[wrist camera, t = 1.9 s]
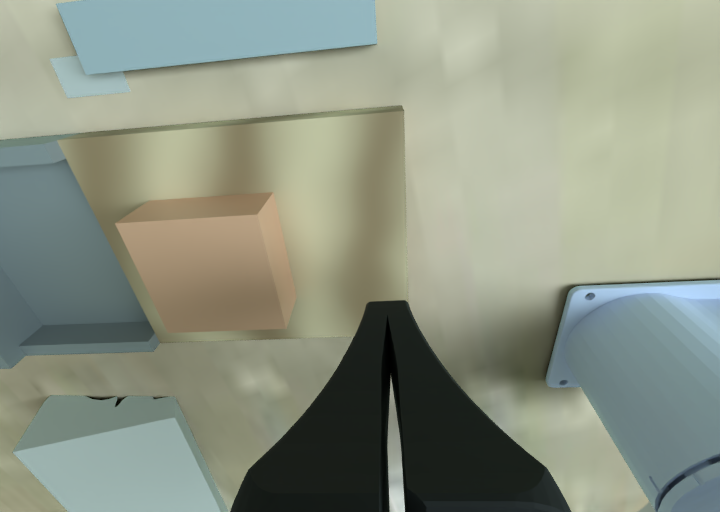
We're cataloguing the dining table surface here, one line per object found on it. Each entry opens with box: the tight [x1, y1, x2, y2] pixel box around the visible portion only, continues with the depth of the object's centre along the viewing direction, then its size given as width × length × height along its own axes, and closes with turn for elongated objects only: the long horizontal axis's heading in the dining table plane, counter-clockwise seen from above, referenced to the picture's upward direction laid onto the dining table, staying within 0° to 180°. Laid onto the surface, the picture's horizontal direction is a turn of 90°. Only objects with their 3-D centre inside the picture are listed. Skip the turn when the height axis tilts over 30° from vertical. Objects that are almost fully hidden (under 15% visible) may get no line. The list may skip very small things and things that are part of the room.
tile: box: [115, 192, 297, 333], centre depth 17 cm, size 6×6×2 cm
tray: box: [0, 133, 160, 369], centre depth 19 cm, size 9×12×3 cm
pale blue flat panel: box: [50, 0, 377, 98], centre depth 14 cm, size 14×4×1 cm, turn 95°
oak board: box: [57, 106, 408, 343], centre depth 18 cm, size 15×12×2 cm
